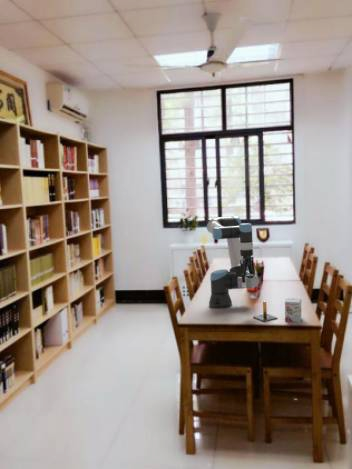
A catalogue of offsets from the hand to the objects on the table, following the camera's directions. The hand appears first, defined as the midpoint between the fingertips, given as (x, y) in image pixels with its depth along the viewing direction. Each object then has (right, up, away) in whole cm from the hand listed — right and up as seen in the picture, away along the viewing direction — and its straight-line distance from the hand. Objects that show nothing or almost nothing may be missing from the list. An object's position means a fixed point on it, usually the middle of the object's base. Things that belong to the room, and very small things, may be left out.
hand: (248, 286), depth 265 cm
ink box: (+24, -18, -13) cm, 33 cm away
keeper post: (+9, -18, -8) cm, 21 cm away
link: (0, 0, 0) cm, 0 cm away
